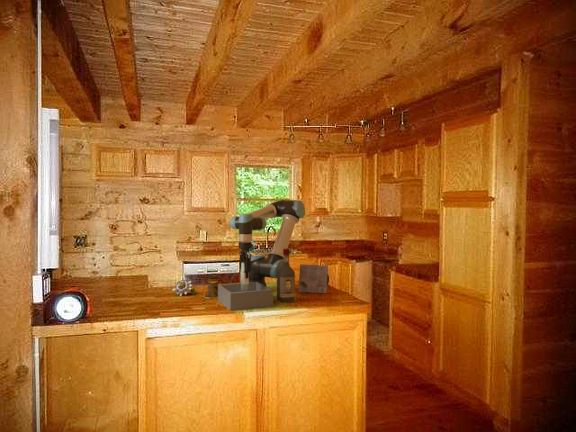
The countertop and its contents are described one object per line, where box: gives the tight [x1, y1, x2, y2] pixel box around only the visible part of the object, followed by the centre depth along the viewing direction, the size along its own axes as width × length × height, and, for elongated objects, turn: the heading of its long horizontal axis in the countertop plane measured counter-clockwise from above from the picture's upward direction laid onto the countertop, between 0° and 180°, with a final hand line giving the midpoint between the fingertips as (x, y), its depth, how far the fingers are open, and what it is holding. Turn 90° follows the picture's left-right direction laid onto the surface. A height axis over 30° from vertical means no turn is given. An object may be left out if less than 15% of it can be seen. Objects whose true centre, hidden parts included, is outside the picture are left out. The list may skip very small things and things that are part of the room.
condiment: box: [202, 275, 219, 299], centre depth 236 cm, size 7×8×12 cm
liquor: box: [276, 248, 296, 303], centre depth 228 cm, size 9×9×30 cm
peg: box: [240, 262, 248, 290], centre depth 221 cm, size 4×4×15 cm
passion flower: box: [171, 277, 196, 297], centre depth 240 cm, size 11×11×12 cm
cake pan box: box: [298, 263, 330, 294], centre depth 252 cm, size 19×5×18 cm, turn 84°
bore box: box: [217, 282, 274, 312], centre depth 221 cm, size 24×24×9 cm
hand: (244, 283), depth 221 cm, fingers closed on peg, 4 cm apart
